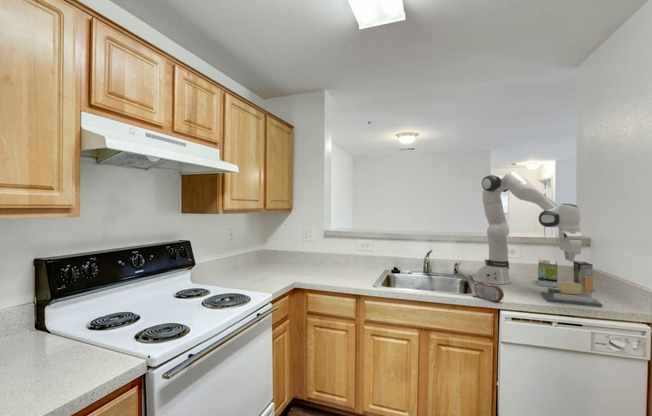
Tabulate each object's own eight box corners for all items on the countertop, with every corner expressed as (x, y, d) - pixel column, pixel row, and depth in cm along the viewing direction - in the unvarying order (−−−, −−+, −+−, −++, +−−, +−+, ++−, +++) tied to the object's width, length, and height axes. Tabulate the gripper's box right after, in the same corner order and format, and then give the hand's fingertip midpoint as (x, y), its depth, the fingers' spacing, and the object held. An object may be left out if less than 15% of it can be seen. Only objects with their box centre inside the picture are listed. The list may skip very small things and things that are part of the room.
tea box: (557, 288, 181) (557, 264, 182) (537, 285, 187) (537, 262, 188) (557, 283, 193) (557, 260, 194) (538, 281, 199) (538, 259, 200)
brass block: (580, 299, 152) (580, 284, 152) (561, 298, 156) (561, 282, 156) (577, 297, 156) (577, 282, 156) (559, 296, 159) (559, 281, 159)
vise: (547, 301, 154) (547, 293, 154) (540, 294, 167) (540, 287, 167) (602, 307, 145) (602, 299, 145) (590, 299, 158) (590, 291, 158)
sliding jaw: (548, 293, 164) (548, 274, 164) (547, 291, 166) (546, 273, 166) (592, 297, 156) (592, 277, 156) (590, 295, 159) (590, 276, 159)
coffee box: (573, 287, 184) (572, 261, 184) (586, 288, 181) (585, 261, 182) (579, 290, 175) (579, 263, 175) (593, 291, 173) (593, 264, 173)
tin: (504, 302, 153) (503, 286, 153) (500, 303, 151) (500, 287, 151) (476, 295, 166) (476, 280, 166) (473, 296, 164) (473, 281, 164)
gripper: (555, 232, 167) (556, 257, 167) (568, 235, 148) (568, 263, 148) (569, 233, 164) (570, 258, 164) (584, 236, 146) (584, 264, 145)
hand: (569, 260), depth 156 cm, fingers open, 4 cm apart
